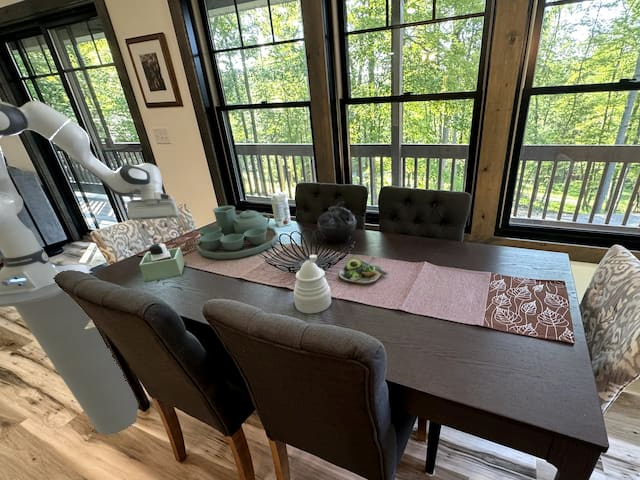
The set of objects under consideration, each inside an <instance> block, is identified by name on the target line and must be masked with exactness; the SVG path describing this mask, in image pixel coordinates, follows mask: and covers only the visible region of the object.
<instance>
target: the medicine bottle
mask: <svg viewBox="0 0 640 480" xmlns="http://www.w3.org/2000/svg"><path fill="white" fill-rule="evenodd" d="M148 250H149V252H151V260H152V262H156V261H162V260H168V259H172V258H171V255H170V253H169V251H167V246H166V243H162V242H159V243H154V244H151V245H150V246H149V247H148Z"/></svg>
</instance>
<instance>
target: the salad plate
mask: <svg viewBox="0 0 640 480" xmlns="http://www.w3.org/2000/svg"><path fill="white" fill-rule="evenodd" d="M388 274H389V273H388V272H387V271H385V270H383V267H382V266H381V265H379V264H375V263H368V262H365V261H364V260H362V259H360V258H357V257H356V258H354V257H353V258H350V259H349V260H347V261H346V263H345V266H344V268H342V269H341V270H340V271H339V272H338V277H339V279H340V280H342V281H344V282H345V283H346V282H347V283H352V284H358V285H359V284H362V285H363V284H364V285H369V284H372V283H376V282H378V280H379V278H380V277H381V276H386V275H388Z"/></svg>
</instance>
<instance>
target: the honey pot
mask: <svg viewBox="0 0 640 480" xmlns="http://www.w3.org/2000/svg"><path fill="white" fill-rule="evenodd" d="M317 260H318V255H317V254H310V255H309V260H306V261H304V262H303V263H302V264H301V266H300V268H299V270H298V271H297V272H296V274H295V279H296V281H295V284H294V290H293V299H294V306H295V308H296V310H297V311H299V312H301V313H304V314H317V313H320V312H323V311H325V310H327V309H328V308H329V307H330V306H331V304H332V294H331V287H330V286H329V284H328V281H327V278H326V277H325V275H326V272H325V271H324V269H322V267H321V268H320V267H319V266H318V265H317V264H316V263H315V262H316V261H317Z"/></svg>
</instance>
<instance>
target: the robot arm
mask: <svg viewBox="0 0 640 480" xmlns="http://www.w3.org/2000/svg"><path fill="white" fill-rule="evenodd" d="M26 130H30V131H34V132H36V133H37V134H40V135H41V136H42V137H44V138H45V139H47V140H48V141H50V142H52V143H53V144H54V145H56V146H57V147H59V148H60V149H61V150H63V151H64V152H65V153H66V154H67V155H68V156H69V157H70V158H71V159H72V160H73V161H75V162H76V163H77V164H78V165H80V166H81V167H82V168H83V169H85V170H86V171H87V172H89V173H90V174H92V175H93V176H94V177H96V178H97V179H98V180H100V181H101V182H102V183H103V184H104V185H105V186H106V187H107V189H108V190H109V191H110V192H112V193H113V194H114V195H117V196H121V197H127V196H130V195H131V194H132V193H134V191H135V190H139V191H140V198H139V199H130V200H129V201H128V202H127V203H126V207H127V218H128V219H130V220H131V221H137V222H138V223H139V225H140V229H142V230H146V229H147V224H145V223H143V222H144V221H145V220H158V219H159V220H160V219H166V221H165V222H164V224H163V226H164V227H165V228H169V227H170V223H171V222H172V219H175V218H176V219H177V218H179V217H180V210H179V207H178V205H177V203H176V199H175V198H174V196H172V195H171V194H167V193H164V190H163V178H162V173H161V171H160V169H159V167H157V165H154V164H152V163H149V162H144V163H141V164H137V165H136V164H135V165H134V164H124V165H122V166H120V167H119V168H118V169H117V170H116V171H114V170H111V168H109V167H108V166H107V165H105V164H104V163H103V162H102V161H100V160H99V159H98V158H96V157H95V155H94V154H93V153H92V150H91V145H90V144H91V143H90V138H89V135H88V133H87V132H86V131H85V130H84V129H83V128H82V127H81V126H80V125H79V124H77V123H76V122H75V121H74V120H72V119H71V118H69V117H68V116H67V115H64V114H63V113H61V112H59V111H58V110H56V109H55V108H53V107H52V106H49V105H48V104H47V103H44V102H42V101H39V100H30V101H28V102H26V103H24V104H23V105H22V106H20V107H18V106H16V105H15V104H12V103H11V102H7V101H0V138H2V137H10V136H16V135H19V134H21V133H22V132H24V131H26ZM5 161H6V160H5V158H4V153H3V151H2V148H1V146H0V252H1V254H2V255H3V257H1V258H0V264H2V263H3V267H2V268H1V269H0V296H4V295H14V294H23V293H31V292H34V291H36V290H38V289H40V288H43V287H46V286H49V285H51V284H53V283H55V281H54V279H53V278H54V277H55V275H57V274H58V273H59V272H58V271H57V270H56V269H55V267H56V266H55V265H54V264H52V262H51V261H50V258H49V256H48V254H47V253H46V251H45V249H44V248H43V247H41V244H40V242H39V241H38V239H37V237H36V236H35V234H34V232H33V231H32V230H31V229H30V228H29V227H27V226H26V225H25V224H24V223H23V222H22V221H21V219H20V218H19V217H18V214H19V213H21V211H22V209H23V207H24V200H23V198H22V196H21V195H20V194H19V193H18V190H17V188H16V187H15V185H14V183H13V181H12V179H11V176H10V174H9V171H8V168H7V165H6V162H5Z"/></svg>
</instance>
